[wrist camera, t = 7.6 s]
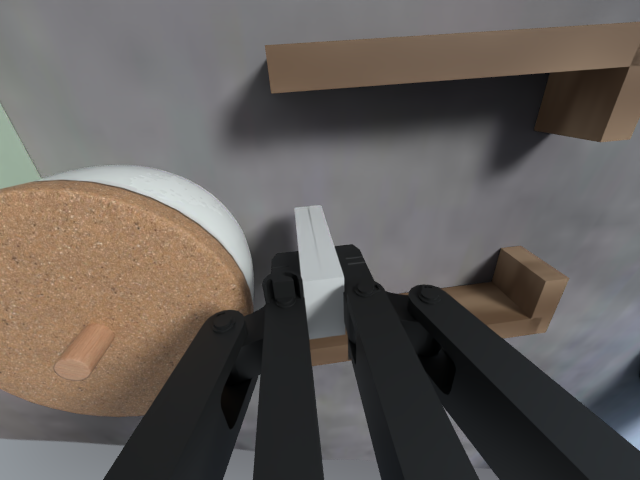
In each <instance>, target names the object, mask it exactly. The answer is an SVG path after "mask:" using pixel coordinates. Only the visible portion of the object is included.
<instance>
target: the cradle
mask: <svg viewBox="0 0 640 480" xmlns="http://www.w3.org/2000/svg"><path fill="white" fill-rule="evenodd" d="M265 50H266V57H267V65H268V73H269V80H270V88H271V93H284V92H297V91H310V90H324V89H337V88H350V87H364V86H377V85H390V84H404V83H417V82H430V81H444V80H457V79H470V78H484V77H497V76H511V75H524V74H537V73H550V74H549V78H548V81H547V85H546V88H545V92H544V96H543V99H542V103H541V106H540V110H539V114H538V117H537V121H536V124H535V128H534V131H540V132H546V133H551V134H557V135H563V136H568V137H574V138H580V139H585V140H591V141H597V142H607V141H618V140H628V139H630V138H631V136H632V134H633V131H634V129H635V127H636V124H637V122H638V120H639V118H640V22H630V23H614V24H598V25H582V26H566V27H550V28H534V29H518V30H502V31H487V32H471V33H455V34H439V35H423V36H407V37H391V38H375V39H359V40H343V41H327V42H311V43H295V44H279V45H265ZM568 280H569V278H568V277H567V276H565V275H564V274H562V273H561V272H559V271H558V270H556V269H555V268H553V267H552V266H550V265H549V264H547V263H546V262H544V261H543V260H541V259H540V258H538V257H537V256H535V255H534V254H532V253H531V252H529V251H528V250H526V249H525V248H523V247H522V246H515V247H507V248H501V250H500V254H499V257H498V261H497V264H496V268H495V272H494V275H493V279H492V282H486V283H478V284H470V285H463V286H455V287H447V288H440V289H442V290H444V291H445V292H447V293H448V294H449V295H450V296H451V297H453V298H454V299H455V300H456V301H457V302H459V303H460V304H461V305H462V306H464V307H465V308H466V309H467V310H468V311H470V312H471V313H472V314H473V315H475V316H476V317H477V318H478V319H479V320H481V321H482V322H483V323H484V324H486V325H487V326H488V327H489V328H490V329H492V330H493V331H494V332H495V333H496V334H498V335H499V336H500V337H501V338H510V337H517V336H524V335H530V334H537V333H544V332H546V331H547V328H548V326H549V324H550V321H551V319H552V317H553V314H554V312H555V310H556V308H557V305H558V303H559V301H560V298H561V296H562V294H563V292H564V289H565V287H566V285H567V282H568ZM401 294H402V295H408V294H409V293H401ZM345 334H346V335H338V336H331V337H324V338H316V339H309V341H310V342H309V343H310V352H311V361H312V366H317V365H323V364H330V363H337V362H344V361H351V360H348V335H347V331H346V327H345Z"/></svg>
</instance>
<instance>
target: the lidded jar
mask: <svg viewBox="0 0 640 480" xmlns="http://www.w3.org/2000/svg"><path fill="white" fill-rule="evenodd" d="M253 297H254V272H253V264H252V259H251V253H250V250H249V246H248V243H247V241H246V238H245V235H244V233H243V231H242V229H241V228H240V226H239V224H238V222H237V221H236V219H235V218H234V217H233V215H232V214H231V213H230V212H229V211H228V209H227V208H226V207H225V206H224V205H223V204H222V203H221V202H220V201H219V200H218V199H217V198H216V197H215V196H214V195H212V194H211V193H210V192H208V191H207V190H205V189H204V188H202V187H201V186H199V185H197V184H196V183H194V182H192V181H190V180H188V179H186V178H184V177H181V176H178V175H175V174H173V173H170V172H167V171H164V170H160V169H155V168H151V167H146V166H135V165H106V166H92V167H86V168H81V169H75V170H71V171H67V172H62V173H58V174H54V175H51V176H48V177H44V178H41V179H38V180H35V181H32V182H28V183H24V184H20V185H15V186H11V187H7V188H3V189H0V389H2V390H4V391H6V392H8V393H10V394H12V395H15V396H17V397H20V398H22V399H25V400H27V401H30V402H32V403H36V404H39V405H43V406H47V407H50V408H54V409H58V410H63V411H67V412H72V413H77V414H85V415H94V416H110V417H127V416H142V415H145V414H146V412H147V411H148V409H149V408H150V406H151V405H152V403H153V401H154V400H155V398H156V397H157V395H158V394H159V392H160V391H161V389H162V387H163V386H164V384H165V383H166V381H167V380H168V378H169V377H170V375H171V373H172V372H173V370H174V369H175V367H176V366H177V364H178V363H179V361H180V359H181V358H182V356H183V355H184V353H185V352H186V350H187V349H188V347H189V345H190V344H191V342H192V341H193V339H194V338H195V336H196V335H197V333H198V331H199V330H200V328H201V327H202V325H203V324H204V322H205V321H206V320H207V319H208V318H209V317H211V316H212V315H214V314H215V313H218V312H221V311H223V310H236V311H239V312H240V313H242V314H243V316H246V315H248V314H251V313H253Z"/></svg>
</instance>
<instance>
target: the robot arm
mask: <svg viewBox="0 0 640 480" xmlns="http://www.w3.org/2000/svg"><path fill="white" fill-rule="evenodd" d="M294 209H295V219H296V229H297V240H298V250H299V251H295V252H286V253H277V254H276V255H275V257H274V258H273V259H272V267H271V268H272V269H271V274H270V275H268V276H267V277H266V278H265V279H264V281H263V283H262V286H263V291H264V296H265V301H266V305H265V306H264V307H262V308H261V309H259V310H258V311H256V312H254V313H251V314H248V315H246V316H243V314H242V313H240V312H239V311H236V310H223V311H221V312H218V313H215V314H214V315H212V316H211V317H209V318H208V319H207V320H206V321H205V322H204V324H203V325H202V327H201V328H200V330H199V331H198V333H197V335H196V336H195V338H194V339H193V341H192V342H191V344H190V345H189V347H188V349H187V350H186V352H185V353H184V355H183V356H182V358H181V359H180V361H179V363H178V364H177V366H176V367H175V369H174V370H173V372H172V373H171V375H170V377H169V378H168V380H167V381H166V383H165V384H164V386H163V387H162V389H161V391H160V392H159V394H158V395H157V397H156V398H155V400H154V401H153V403H152V405H151V406H150V408H149V409H148V411H147V412H146V414H145V415H144V417H143V418H142V420H141V422H140V423H139V425H138V426H137V428H136V429H135V431H134V432H133V434H132V436H131V437H130V439H129V440H128V442H127V443H126V445H125V446H124V448H123V450H122V451H121V453H120V454H119V456H118V458H117V459H116V460H115V462H114V464H113V465H112V467H111V468H110V470H109V471H108V473H107V474H106V476H105V478H104V479H103V480H223V477H224V474H225V472H226V469H227V466H228V463H229V460H230V457H231V454H232V451H233V448H234V446H235V443H236V440H237V437H238V434H239V431H240V428H241V425H242V422H243V419H244V417H245V414H246V411H247V408H248V405H249V402H250V399H251V396H252V393H253V390H254V388H255V385H256V382H257V378H258V375H260V374H261V378H260V391H259V405H258V418H257V432H256V445H255V459H254V473H253V480H324V474H323V465H322V455H321V446H320V436H319V427H318V418H317V408H316V399H315V389H314V380H313V371H312V361H311V352H310V343H309V342H310V341H309V339H316V338H324V337H331V336H338V335H346V334H345V327H346V331H347V335H348V360H352V364H353V368H354V372H355V376H356V380H357V384H358V388H359V392H360V396H361V400H362V404H363V408H364V412H365V416H366V420H367V424H368V428H369V432H370V436H371V440H372V444H373V448H374V452H375V456H376V460H377V464H378V468H379V472H380V476H381V480H479V478H478V476H477V474H476V472H475V470H474V468H473V466H472V464H471V462H470V460H469V458H468V456H467V454H466V452H465V450H464V448H463V446H462V444H461V442H460V440H459V438H458V436H457V434H456V432H455V430H454V428H453V426H452V424H451V422H450V420H449V418H448V416H447V414H446V412H445V410H444V408H445V409H446V411H447V412H448V413H449V414H450V416H451V417H452V418H453V420H454V421H455V422H456V424H457V425H458V426H459V427H460V429H461V430H462V431H463V433H464V434H465V435H466V437H467V438H468V439H469V440H470V442H471V443H472V444H473V446H474V447H475V448H476V450H477V451H478V452H479V453H480V455H481V456H482V457H483V459H484V460H485V461H486V463H487V464H488V465H489V466H490V468H491V469H492V470H493V472H494V473H495V474H496V475H497V477H498V478H499V479H500V480H640V451H639V450H638V449H637V448H635V447H634V446H633V445H632V444H630V443H629V442H628V441H627V440H626V439H624V438H623V437H622V436H621V435H619V434H618V433H617V432H616V431H615V430H613V429H612V428H611V427H610V426H609V425H607V424H606V423H605V422H604V421H602V420H601V419H600V418H599V417H598V416H596V415H595V414H594V413H593V412H591V411H590V410H589V409H588V408H587V407H585V406H584V405H583V404H582V403H580V402H579V401H578V400H577V399H576V398H574V397H573V396H572V395H571V394H570V393H568V392H567V391H566V390H565V389H563V388H562V387H561V386H560V385H559V384H557V383H556V382H555V381H554V380H552V379H551V378H550V377H549V376H548V375H546V374H545V373H544V372H543V371H542V370H540V369H539V368H538V367H537V366H535V365H534V364H533V363H532V362H531V361H529V360H528V359H527V358H526V357H524V356H523V355H522V354H521V353H520V352H518V351H517V350H516V349H515V348H514V347H512V346H511V345H510V344H509V343H507V342H506V341H505V340H504V339H503V338H501V337H500V336H499V335H498V334H496V333H495V332H494V331H493V330H492V329H490V328H489V327H488V326H487V325H486V324H484V323H483V322H482V321H481V320H479V319H478V318H477V317H476V316H475V315H473V314H472V313H471V312H470V311H468V310H467V309H466V308H465V307H464V306H462V305H461V304H460V303H459V302H457V301H456V300H455V299H454V298H453V297H451V296H450V295H449V294H448V293H447V292H445V291H444V290H442V289H440V288H438V287H435V286H432V285H417V286H415V287H413V288H411V290H410V291H409V294H408V295H402V294H394V293H390V292H387V291H385V290H384V288H383V287H382V286H381V284H379V283H377V282H375V281H374V280H373V277H372V275H371V273H370V271H369V269H368V267H367V265H366V263H365V260H364V258H363V256H362V254H361V252H360V250H359V249H358V248H357V247H355V246H354V245H353V244H351V245H342V246H334V244H333V241H332V238H331V235H330V231H329V228H328V225H327V222H326V219H325V216H324V213H323V210H322V207H321V205H318V206H308V207H298V208H294ZM442 405H443V406H442ZM443 407H444V408H443Z"/></svg>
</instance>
